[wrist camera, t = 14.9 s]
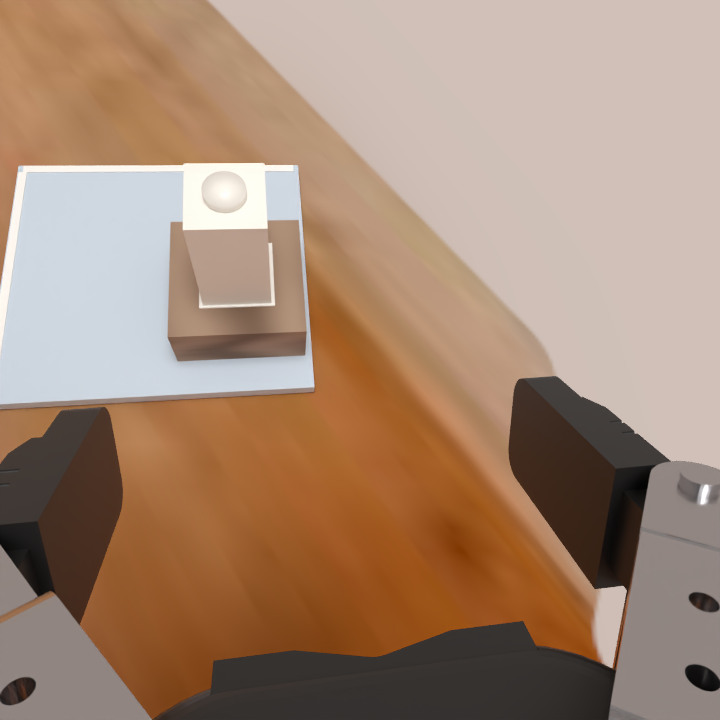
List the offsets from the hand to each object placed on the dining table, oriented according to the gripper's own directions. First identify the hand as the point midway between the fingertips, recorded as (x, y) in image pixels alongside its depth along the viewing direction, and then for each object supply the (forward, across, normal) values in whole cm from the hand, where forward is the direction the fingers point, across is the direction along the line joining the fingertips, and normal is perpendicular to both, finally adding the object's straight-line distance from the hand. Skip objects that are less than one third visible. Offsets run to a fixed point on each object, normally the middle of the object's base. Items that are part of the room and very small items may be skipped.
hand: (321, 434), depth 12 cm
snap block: (+31, +3, +4) cm, 31 cm away
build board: (+36, +9, +5) cm, 38 cm away
